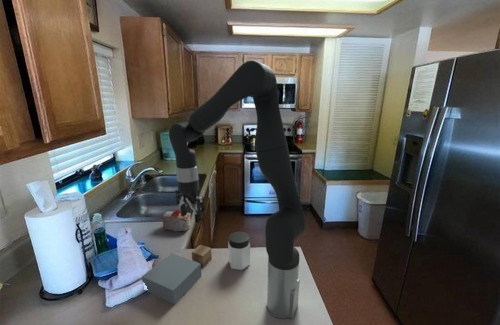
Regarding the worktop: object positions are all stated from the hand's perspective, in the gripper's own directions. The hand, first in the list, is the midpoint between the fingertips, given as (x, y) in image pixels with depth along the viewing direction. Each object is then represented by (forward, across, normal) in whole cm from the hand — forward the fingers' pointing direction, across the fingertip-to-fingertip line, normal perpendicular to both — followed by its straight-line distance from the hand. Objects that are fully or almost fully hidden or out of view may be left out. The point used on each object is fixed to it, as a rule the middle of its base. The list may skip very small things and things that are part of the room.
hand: (190, 218), depth 89 cm
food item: (+20, +29, -12) cm, 37 cm away
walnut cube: (+20, -1, -3) cm, 21 cm away
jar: (+21, -13, -12) cm, 27 cm away
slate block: (+21, -2, +11) cm, 23 cm away
